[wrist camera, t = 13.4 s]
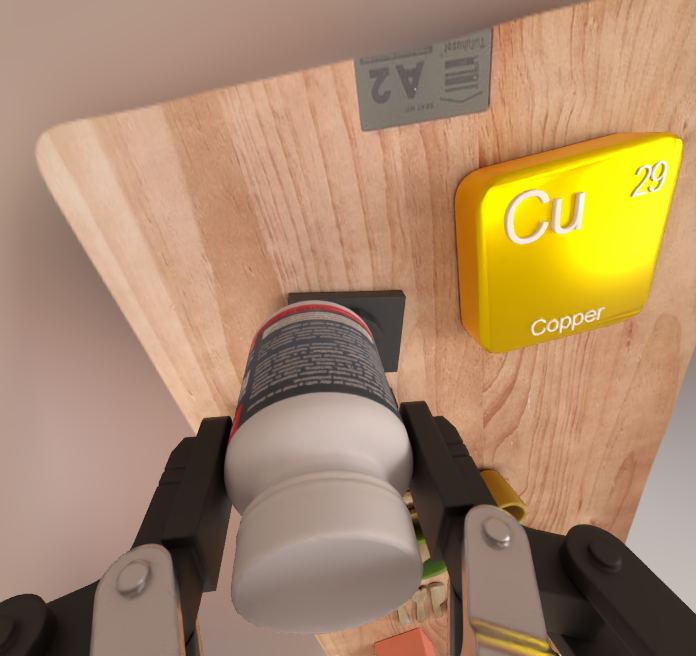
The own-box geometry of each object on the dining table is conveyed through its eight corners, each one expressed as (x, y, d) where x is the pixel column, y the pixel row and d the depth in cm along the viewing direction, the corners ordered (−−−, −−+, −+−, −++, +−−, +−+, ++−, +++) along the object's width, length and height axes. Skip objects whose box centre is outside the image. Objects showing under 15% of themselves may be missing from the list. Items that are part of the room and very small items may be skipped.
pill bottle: (232, 313, 13) (137, 553, 6) (362, 283, 13) (449, 479, 6) (273, 411, 16) (246, 668, 8) (381, 386, 16) (457, 616, 8)
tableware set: (360, 491, 43) (368, 542, 38) (569, 443, 44) (608, 486, 38) (394, 627, 64) (403, 673, 58) (537, 592, 64) (559, 635, 59)
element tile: (460, 336, 34) (483, 363, 29) (450, 174, 26) (479, 181, 22) (607, 298, 34) (650, 320, 29) (638, 126, 26) (702, 123, 22)
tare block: (293, 369, 33) (293, 388, 30) (288, 293, 29) (287, 307, 27) (393, 363, 34) (401, 382, 32) (401, 290, 30) (411, 303, 28)
